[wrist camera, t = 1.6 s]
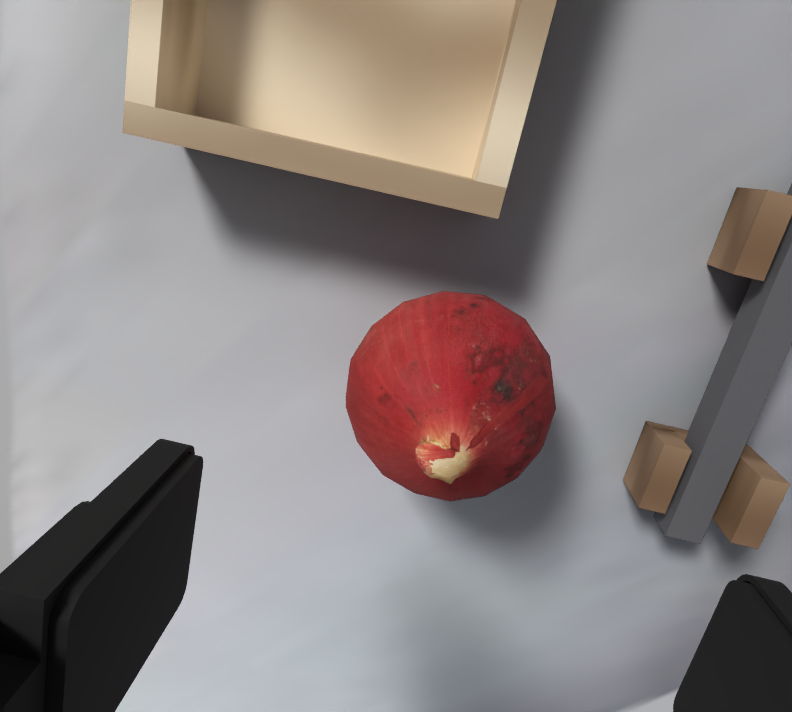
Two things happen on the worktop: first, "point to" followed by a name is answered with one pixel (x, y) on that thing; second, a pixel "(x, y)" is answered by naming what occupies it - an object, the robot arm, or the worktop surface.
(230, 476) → the worktop surface
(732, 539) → the clip
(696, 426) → the gray square bar
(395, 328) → the onion
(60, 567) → the robot arm
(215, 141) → the wooden tray
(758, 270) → the clip
